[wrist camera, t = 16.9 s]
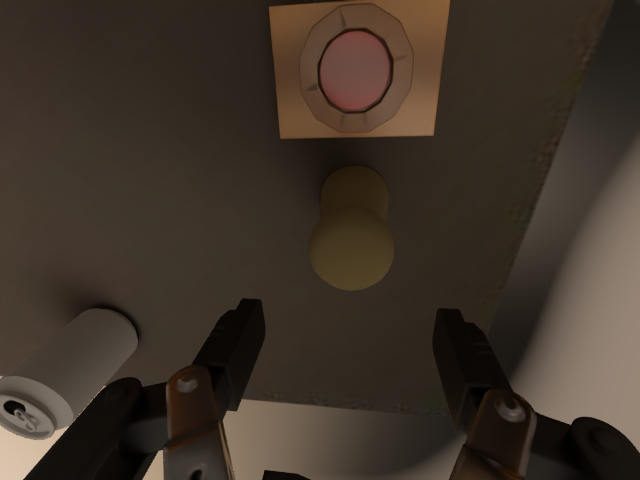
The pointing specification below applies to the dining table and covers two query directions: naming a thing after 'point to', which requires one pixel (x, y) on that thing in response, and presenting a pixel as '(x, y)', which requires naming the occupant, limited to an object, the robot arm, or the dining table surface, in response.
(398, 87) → the button box
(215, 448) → the robot arm
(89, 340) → the can
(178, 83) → the dining table surface
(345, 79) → the red button
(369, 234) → the cork
